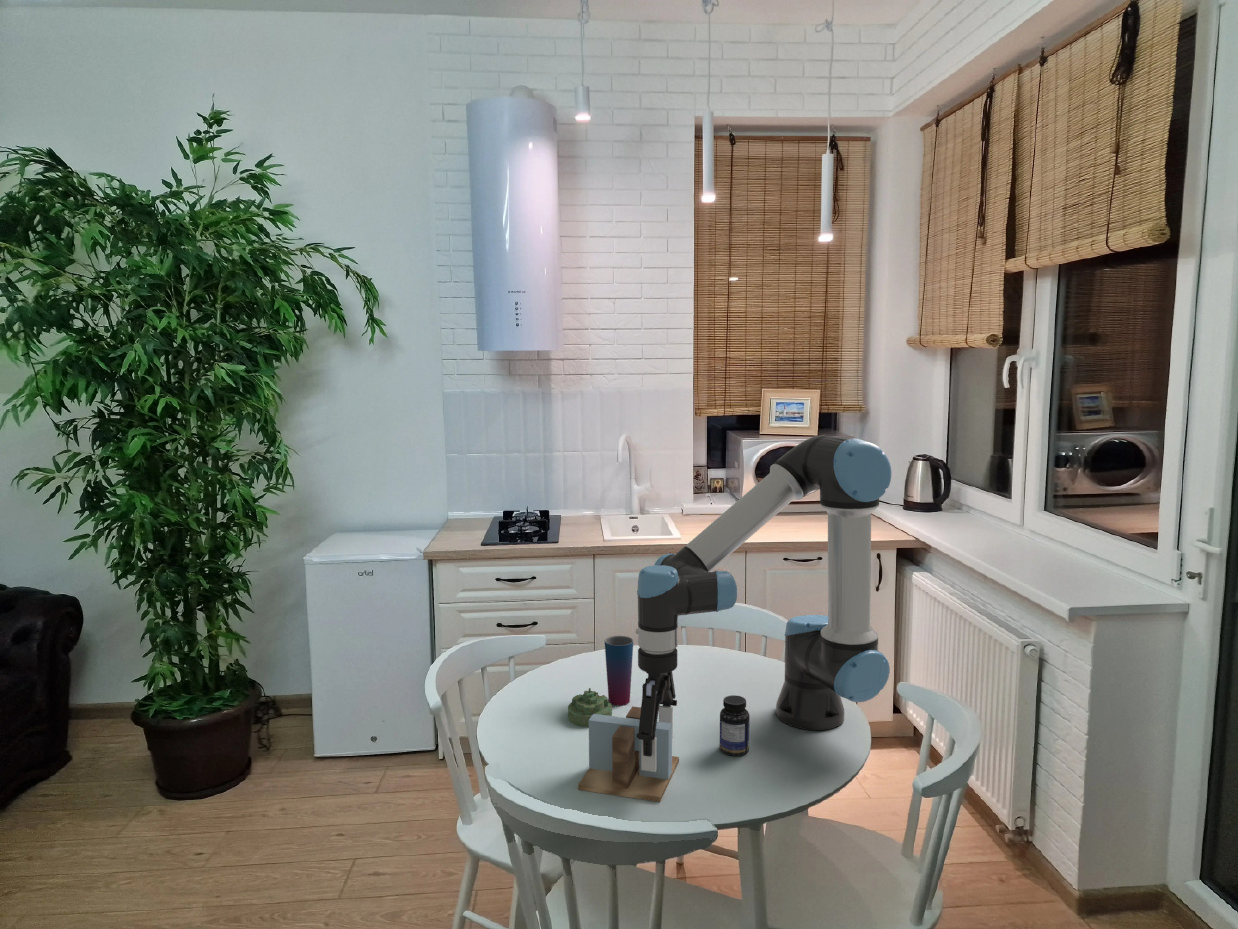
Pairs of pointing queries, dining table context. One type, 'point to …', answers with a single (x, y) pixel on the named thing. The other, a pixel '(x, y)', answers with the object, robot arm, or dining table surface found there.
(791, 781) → the dining table surface
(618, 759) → the jig
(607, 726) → the slotted plate
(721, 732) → the pill bottle
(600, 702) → the decorative artifact
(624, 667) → the cup
